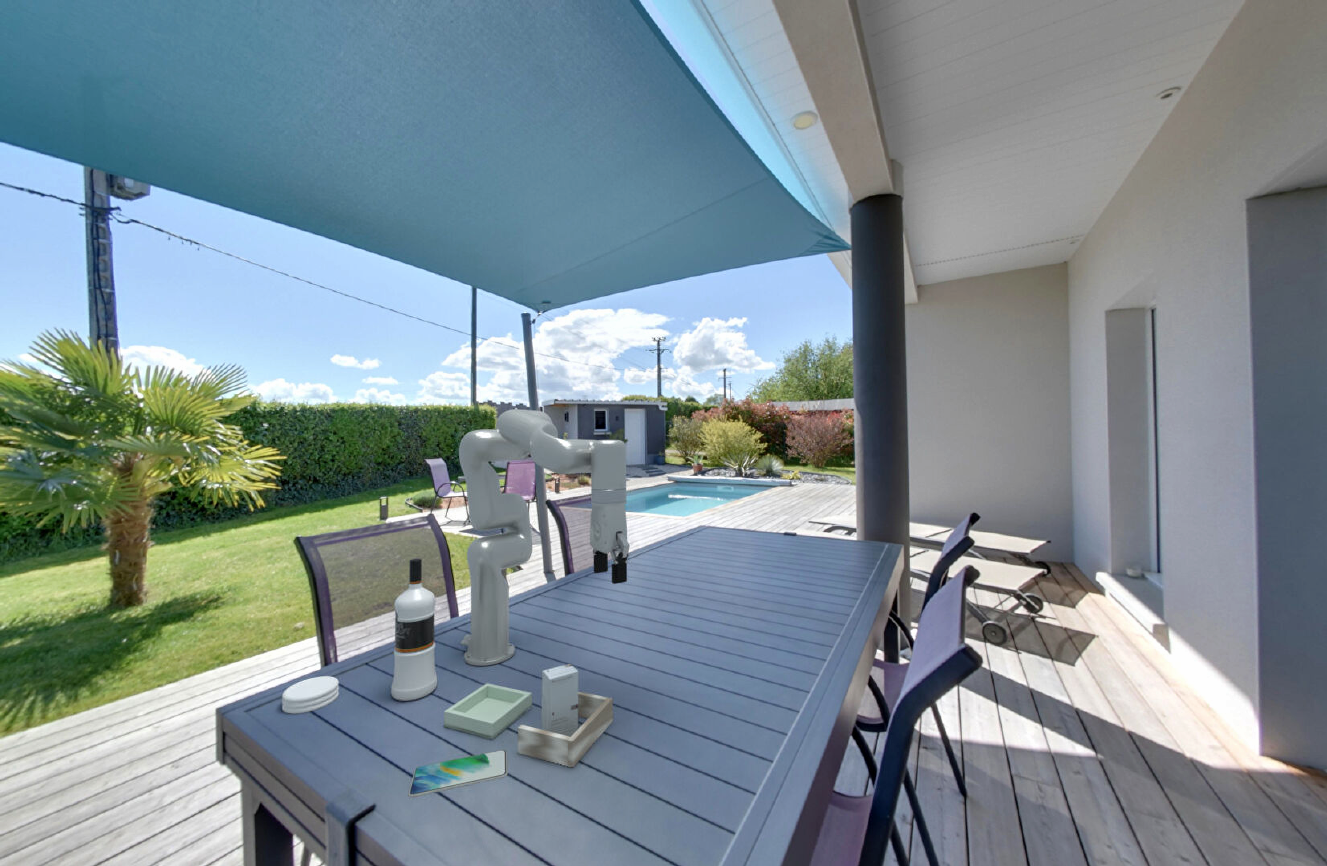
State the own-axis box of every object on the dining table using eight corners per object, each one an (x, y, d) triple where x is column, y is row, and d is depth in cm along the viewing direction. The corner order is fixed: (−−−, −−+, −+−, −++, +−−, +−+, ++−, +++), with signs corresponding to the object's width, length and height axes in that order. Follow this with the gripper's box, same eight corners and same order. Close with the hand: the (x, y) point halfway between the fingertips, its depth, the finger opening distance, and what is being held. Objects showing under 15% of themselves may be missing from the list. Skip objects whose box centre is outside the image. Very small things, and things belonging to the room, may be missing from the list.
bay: (517, 752, 87) (517, 727, 87) (563, 710, 101) (563, 688, 101) (572, 768, 83) (572, 741, 83) (612, 721, 97) (612, 698, 97)
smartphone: (507, 774, 81) (407, 796, 76) (507, 780, 81) (407, 801, 76) (506, 748, 87) (415, 766, 83) (506, 753, 87) (415, 771, 83)
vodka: (437, 696, 106) (437, 561, 107) (389, 706, 103) (390, 565, 103) (437, 678, 115) (438, 552, 116) (393, 687, 111) (394, 556, 112)
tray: (444, 726, 95) (444, 711, 95) (486, 697, 106) (486, 683, 106) (492, 739, 91) (492, 723, 91) (531, 707, 102) (531, 693, 102)
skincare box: (548, 746, 89) (548, 680, 89) (540, 734, 92) (540, 670, 93) (579, 735, 92) (579, 671, 92) (570, 723, 96) (570, 662, 96)
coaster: (349, 694, 108) (349, 679, 108) (303, 719, 99) (303, 701, 99) (317, 687, 111) (318, 672, 111) (270, 710, 102) (270, 693, 102)
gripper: (578, 495, 109) (578, 571, 108) (609, 502, 94) (610, 590, 93) (608, 493, 113) (609, 566, 112) (643, 499, 98) (644, 584, 97)
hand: (609, 577), depth 103 cm, fingers open, 9 cm apart
